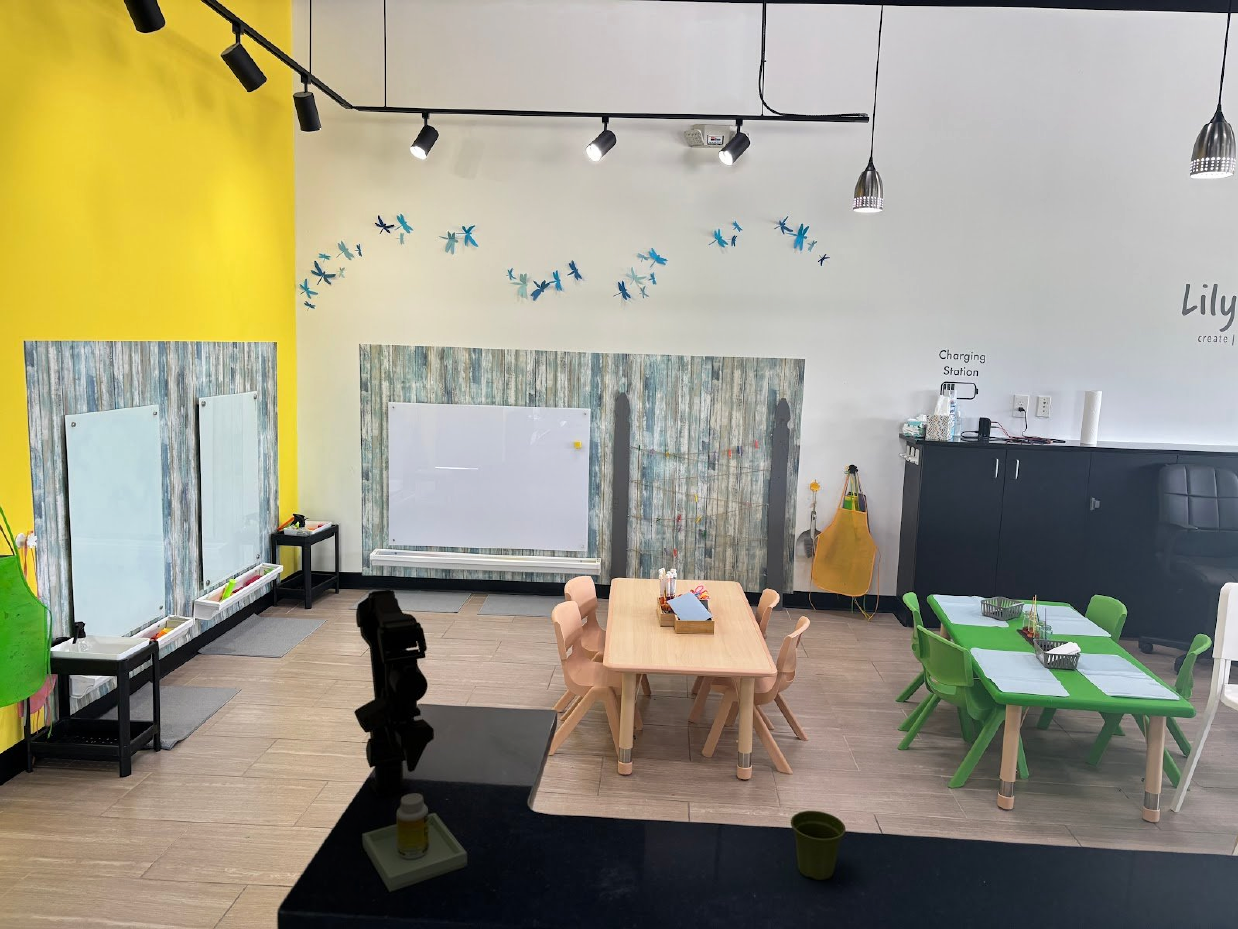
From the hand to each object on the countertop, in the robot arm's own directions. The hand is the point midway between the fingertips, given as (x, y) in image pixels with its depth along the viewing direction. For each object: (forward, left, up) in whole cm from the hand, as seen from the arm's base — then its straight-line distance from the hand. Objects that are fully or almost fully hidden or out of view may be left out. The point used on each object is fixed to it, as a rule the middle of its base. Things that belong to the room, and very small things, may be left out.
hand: (403, 761), depth 164 cm
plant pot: (+53, +57, -13) cm, 79 cm away
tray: (+11, -2, -13) cm, 17 cm away
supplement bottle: (+11, -2, -12) cm, 17 cm away
